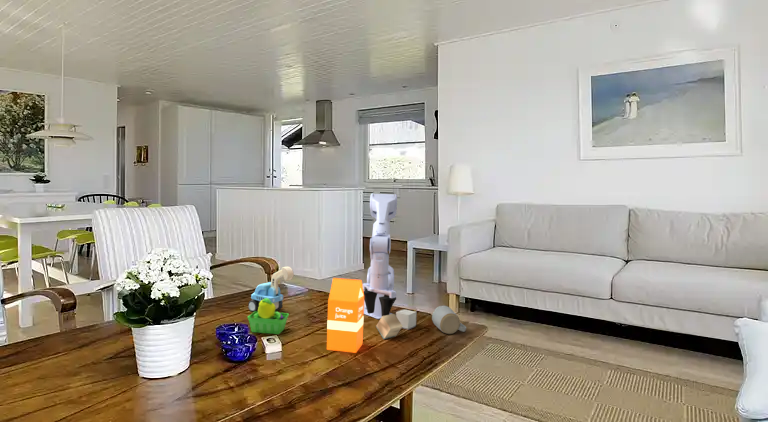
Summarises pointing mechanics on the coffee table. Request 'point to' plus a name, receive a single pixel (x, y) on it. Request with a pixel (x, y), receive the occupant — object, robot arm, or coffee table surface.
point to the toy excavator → (271, 290)
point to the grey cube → (407, 318)
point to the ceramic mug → (447, 320)
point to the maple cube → (389, 326)
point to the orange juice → (345, 315)
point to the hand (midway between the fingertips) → (377, 315)
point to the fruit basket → (267, 318)
